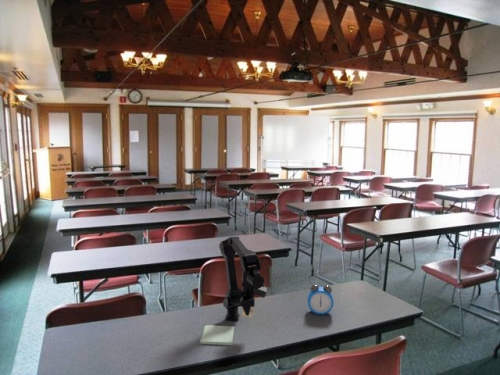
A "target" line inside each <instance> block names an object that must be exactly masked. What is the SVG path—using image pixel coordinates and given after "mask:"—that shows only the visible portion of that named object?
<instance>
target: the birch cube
mask: <svg viewBox="0 0 500 375" xmlns="http://www.w3.org/2000/svg"><path fill="white" fill-rule="evenodd" d="M241 318H254V307H251V308H250V312H249V315H246V314H245V311H244V309H243V307H241Z"/></svg>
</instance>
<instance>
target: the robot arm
mask: <svg viewBox="0 0 500 375" xmlns="http://www.w3.org/2000/svg"><path fill="white" fill-rule="evenodd" d="M218 247H219V250H220V254H221V255H222V257H223V258H224V260H225V261H224V262H225V263H224V264H225V271H226V279H227V280H226V281H227V289H226V292H225V298H224V299H223V301H222V305H223V307H224V308H225V310H226V315H225V320H226V321H233V322H234V321H237V322H238V321H239V320H240V313H239V307H241V308H242V307H243V309H244V311H245V314H246V315H249V312H250V308H251V307H253V308H254V307H255V304H256V303H255V302H256V301H255V298H254V297H256V296H259V297H261V298H262V299H265V297H266V296H267V295H266V294H267V292H268V288H267V287H266V286H265V278H264V277H263V276H262V275H261V272H260V271H261V270H262V269H261V266H262V265H261V262H260V259H259V257H258V255H257V253H256V252H255V251H253V250H250V249H248V248H247V246H245V244H243V241H241V239H240V237H239V236H236V235H235V236H230V237H227V238H226V239H224V240H221V241H220V243H219V245H218ZM236 255H237V256H239V264H240V265H241V267H240V268H241V269H242V271H241V272H242V273H241V275H242V276H241V289H240V287H239V286H238V279H237V278H238V277H237V270H236V261H235V256H236Z"/></svg>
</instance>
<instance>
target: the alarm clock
mask: <svg viewBox="0 0 500 375" xmlns="http://www.w3.org/2000/svg"><path fill="white" fill-rule="evenodd" d="M332 292H333V289H332V287H331V286H330V285H328V284H325V285H324V286H323V285H320V286H319V285H318V284H315V283H314V284H311V286H310V287H309V292H308V295H307V305H308V308H309V309H310V311H311V312H312V314H313V313H314V314H316V315H320V314H321V315H328V313H330V312H331V311H332V310H333V308H334V301H335V300H334V297H333V294H332Z"/></svg>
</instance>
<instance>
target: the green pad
mask: <svg viewBox="0 0 500 375" xmlns="http://www.w3.org/2000/svg"><path fill="white" fill-rule="evenodd" d="M235 328H236V327H235V326H232V325H230V326H229V325H228V326H227V325H213V324H211V325H209V324H208V325H206V324H205V326H204V327H203V331H202V335H201V337H200V340H199V344H201V345H203V344H204V345H220V346H232V345H233V340H234V335H235Z"/></svg>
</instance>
